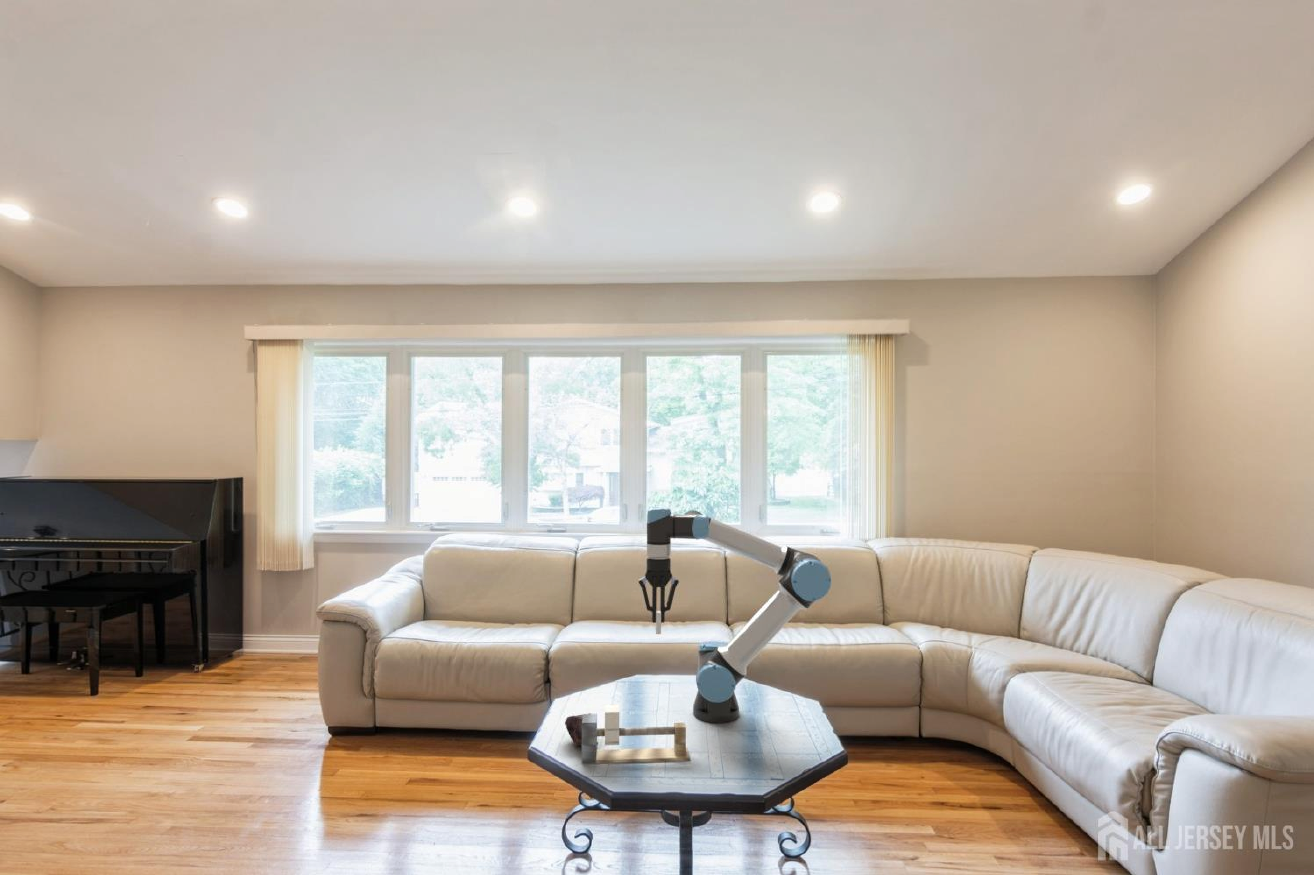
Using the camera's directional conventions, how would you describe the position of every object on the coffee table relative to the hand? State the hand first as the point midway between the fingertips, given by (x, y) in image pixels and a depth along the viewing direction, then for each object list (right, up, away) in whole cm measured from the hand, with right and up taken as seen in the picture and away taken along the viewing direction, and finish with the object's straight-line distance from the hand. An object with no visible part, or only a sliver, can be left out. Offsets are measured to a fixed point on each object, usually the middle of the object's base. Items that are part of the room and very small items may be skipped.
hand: (658, 632), depth 194 cm
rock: (-23, -29, -11) cm, 39 cm away
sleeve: (-13, -24, -20) cm, 34 cm away
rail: (-6, -29, -19) cm, 35 cm away
